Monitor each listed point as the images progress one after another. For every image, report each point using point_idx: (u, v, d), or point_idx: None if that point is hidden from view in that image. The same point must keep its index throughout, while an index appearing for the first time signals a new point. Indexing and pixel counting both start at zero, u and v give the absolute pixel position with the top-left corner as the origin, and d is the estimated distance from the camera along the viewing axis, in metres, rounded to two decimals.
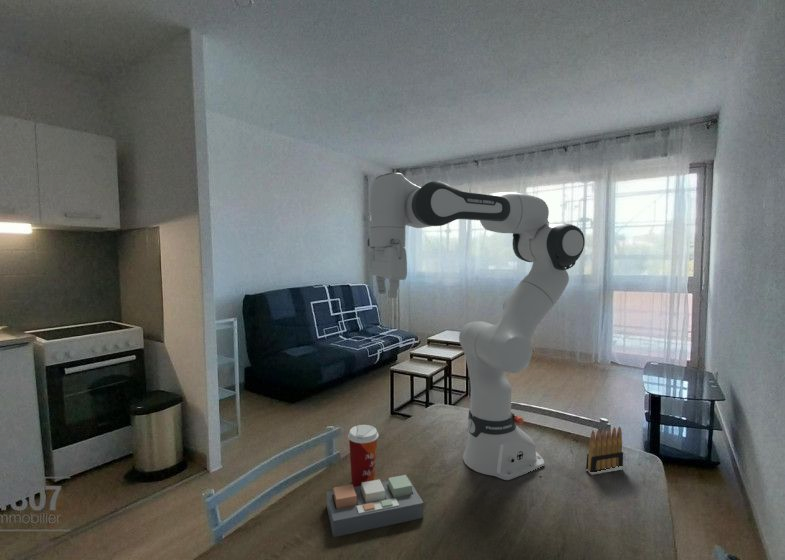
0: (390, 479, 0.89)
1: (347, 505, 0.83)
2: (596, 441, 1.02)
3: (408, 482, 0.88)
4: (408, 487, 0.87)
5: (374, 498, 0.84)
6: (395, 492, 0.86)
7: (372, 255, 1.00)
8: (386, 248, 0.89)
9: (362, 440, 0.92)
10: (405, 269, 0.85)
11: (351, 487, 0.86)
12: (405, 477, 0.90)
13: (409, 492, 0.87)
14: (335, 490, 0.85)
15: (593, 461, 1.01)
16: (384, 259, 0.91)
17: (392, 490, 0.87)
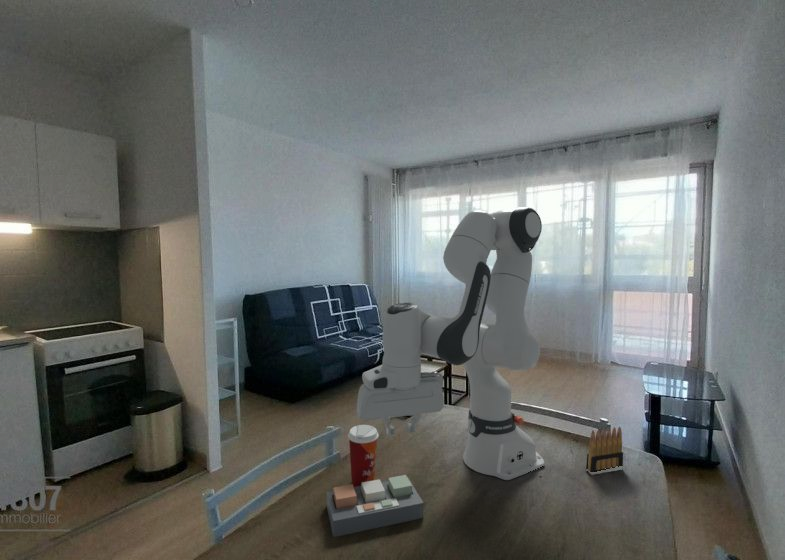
0: (390, 479, 0.89)
1: (347, 505, 0.83)
2: (596, 441, 1.02)
3: (408, 482, 0.88)
4: (408, 487, 0.87)
5: (374, 498, 0.84)
6: (395, 492, 0.86)
7: (372, 397, 0.83)
8: (424, 384, 0.87)
9: (362, 440, 0.92)
10: None
11: (351, 487, 0.86)
12: (405, 477, 0.90)
13: (409, 492, 0.87)
14: (335, 490, 0.85)
15: (593, 461, 1.01)
16: (416, 395, 0.87)
17: (392, 490, 0.87)
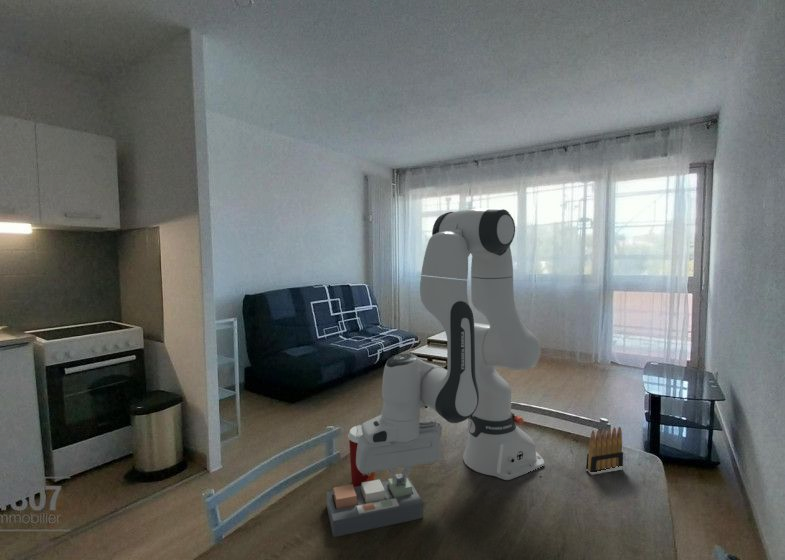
0: (390, 480, 0.89)
1: (347, 505, 0.83)
2: (596, 441, 1.02)
3: (408, 483, 0.88)
4: (408, 488, 0.87)
5: (374, 498, 0.84)
6: (395, 493, 0.86)
7: (371, 450, 0.83)
8: (422, 435, 0.87)
9: None
10: None
11: (351, 487, 0.86)
12: None
13: (409, 493, 0.87)
14: (335, 490, 0.85)
15: (593, 461, 1.01)
16: (414, 446, 0.87)
17: (392, 492, 0.87)
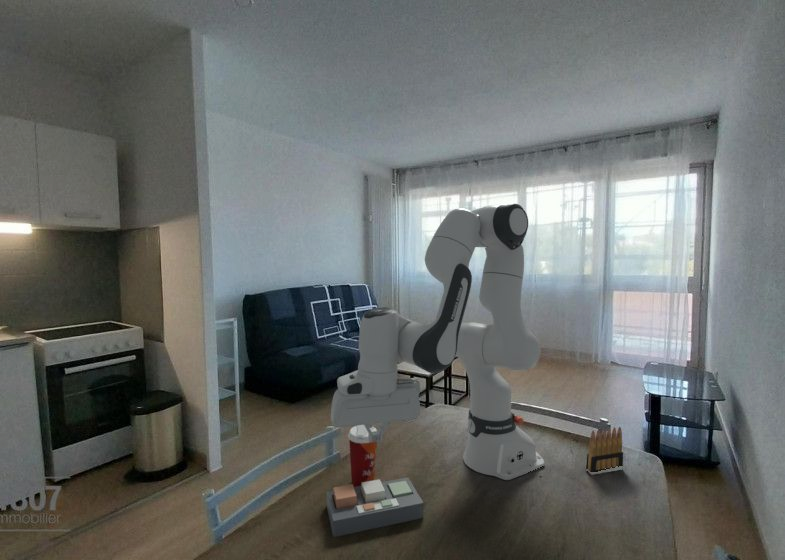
0: (390, 485, 0.90)
1: (347, 505, 0.83)
2: (596, 441, 1.02)
3: (408, 488, 0.88)
4: (408, 493, 0.87)
5: (374, 498, 0.84)
6: None
7: (346, 403, 0.81)
8: (400, 390, 0.85)
9: (362, 440, 0.92)
10: None
11: (351, 487, 0.86)
12: (405, 483, 0.90)
13: None
14: (335, 490, 0.85)
15: (593, 461, 1.01)
16: (391, 402, 0.85)
17: None
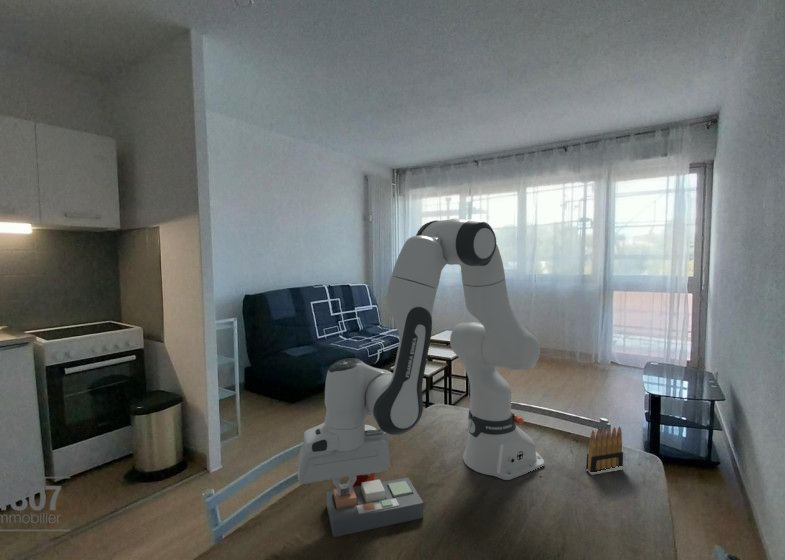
0: (390, 485, 0.90)
1: None
2: (596, 441, 1.02)
3: (408, 488, 0.88)
4: (408, 493, 0.87)
5: (374, 498, 0.84)
6: None
7: (311, 459, 0.80)
8: (368, 443, 0.83)
9: None
10: None
11: (351, 489, 0.86)
12: (405, 483, 0.90)
13: None
14: (335, 492, 0.85)
15: (593, 461, 1.01)
16: (359, 455, 0.83)
17: None
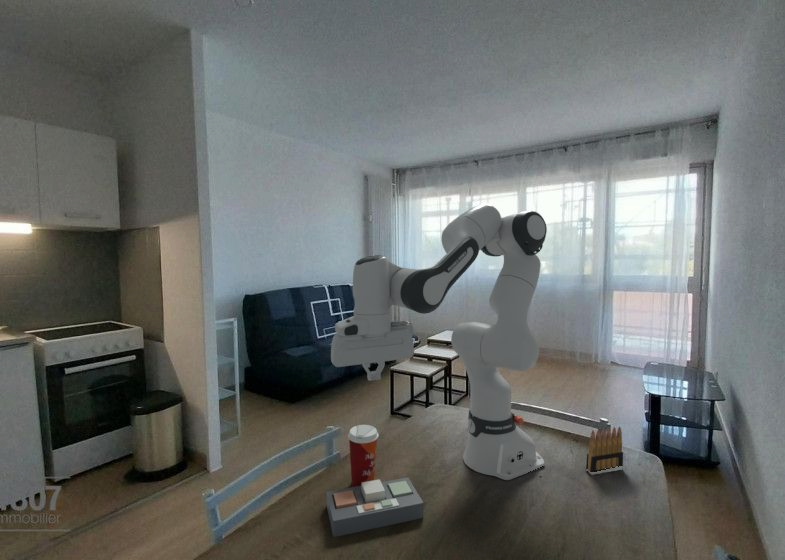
0: (390, 485, 0.90)
1: None
2: (596, 441, 1.02)
3: (408, 488, 0.88)
4: (408, 493, 0.87)
5: (374, 498, 0.84)
6: None
7: (344, 344, 0.87)
8: (394, 331, 0.91)
9: (362, 440, 0.92)
10: None
11: (351, 493, 0.86)
12: (405, 483, 0.90)
13: None
14: (335, 496, 0.85)
15: (593, 461, 1.01)
16: (386, 342, 0.91)
17: None
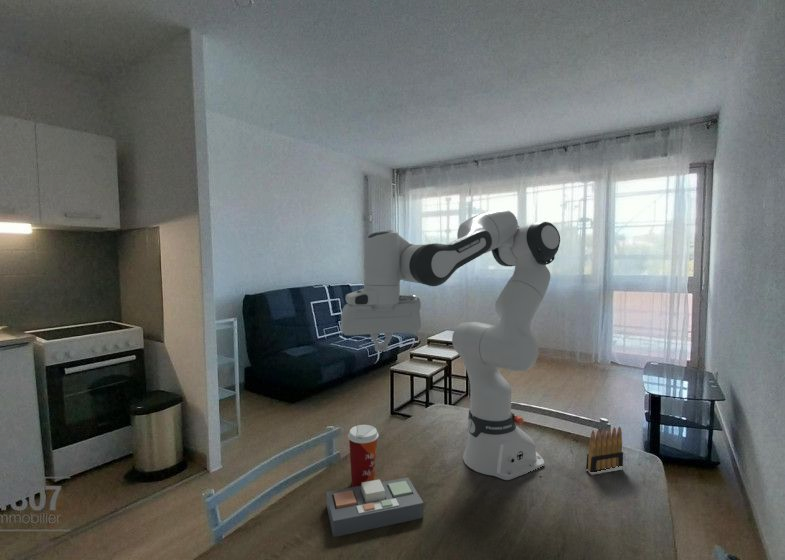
0: (390, 485, 0.90)
1: None
2: (596, 441, 1.02)
3: (408, 488, 0.88)
4: (408, 493, 0.87)
5: (374, 498, 0.84)
6: None
7: (354, 313, 0.91)
8: (402, 304, 0.94)
9: (362, 440, 0.92)
10: None
11: (351, 493, 0.86)
12: (405, 483, 0.90)
13: None
14: (335, 496, 0.85)
15: (593, 461, 1.01)
16: (395, 314, 0.94)
17: None
